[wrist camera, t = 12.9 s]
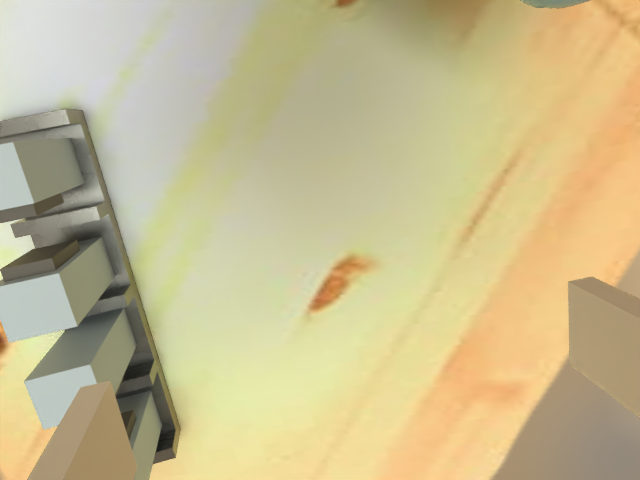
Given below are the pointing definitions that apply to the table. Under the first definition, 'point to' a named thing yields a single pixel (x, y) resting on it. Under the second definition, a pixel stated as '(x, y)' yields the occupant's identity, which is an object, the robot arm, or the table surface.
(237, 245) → the table surface
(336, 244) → the table surface
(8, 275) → the fitted fingers
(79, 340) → the block
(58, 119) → the rail
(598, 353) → the robot arm
